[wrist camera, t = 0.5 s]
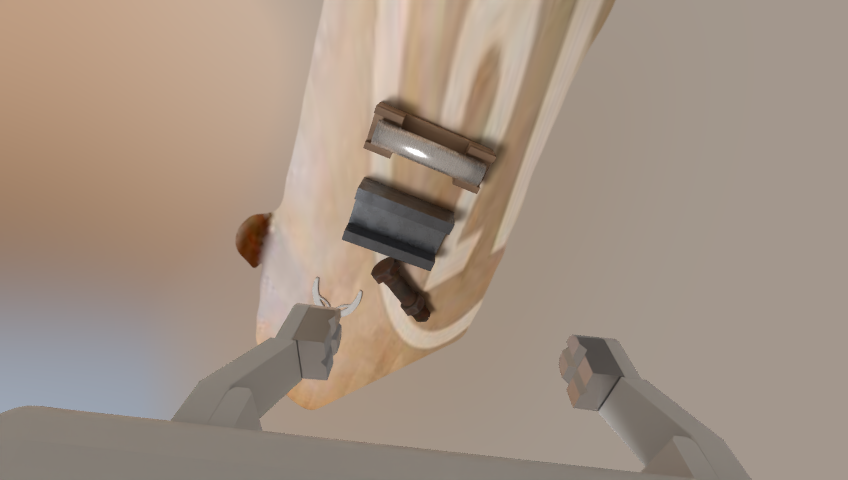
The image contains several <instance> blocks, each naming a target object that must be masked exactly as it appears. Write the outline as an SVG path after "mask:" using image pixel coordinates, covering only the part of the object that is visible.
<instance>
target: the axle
mask: <svg viewBox="0 0 848 480" xmlns="http://www.w3.org/2000/svg"><path fill="white" fill-rule="evenodd" d="M371 144H372V145H375V146H377V147H380V148H382V149H385V150H387V151H390V152H392V153H394V154H397V155H399V156H402V157H404V158H407V159H409V160H411V161H414V162H416V163H419V164H421V165H424V166H426V167H429V168H431V169H433V170H436V171H438V172H441V173H443V174H446V175H448V176H451V177H453V178H455V179H458V180H460V181H463V182H465V183H468V184H470V185H472V186H475V187H477V186H478V185H479V184H480V182H481V180H482V178H483V176H484V174H485V171H486V164H485V163H482V162H480V161H478V160H475V159H473V158H471V157H468V156H466V155H463V154H461V153H459V152H456V151H454V150H452V149H449V148H447V147H445V146H442V145H440V144H437V143H435V142H433V141H430V140H428V139H426V138H423V137H421V136H419V135H416V134H414V133H412V132H409V131H407V130H404V129H402V128H400V127H397V126H395V125H393V124H390V123H388V122H386V121H383V120H381V119H379V121H378V123H377V125H376V128H375V130H374V133H373V137H372V140H371Z"/></svg>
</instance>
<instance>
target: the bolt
mask: <svg viewBox="0 0 848 480" xmlns="http://www.w3.org/2000/svg"><path fill="white" fill-rule="evenodd" d="M399 268H400V265H399V264H398V262H397V261H396V260H395V259H394V258H392V257H388V258H386V259H384V260H382V261H380V262H379V263H378V264H377V265H375V267H374V268H373V270H372V273H371V275H372V276H373V278H374V279H375V280H376V281H377V282H378V284H380V283H382V282H384V283H385V284H386V285H387V286H388V287H389V288H390V290H391V291H392V292H393V293H394V295H395V296H396V297H397V298H398V299H399V300H400V302H401V308H402V309H403V310H404V311H405V313H406V314H407V315H408V316H409V315H412V316H413V317H414V319H415V320H416V321H418V322H426V321H427V320H428V319H429V318H428V317H430V312H429V311H428V309H427V308H426V307H425V306H424V303H425V300H424V299H423V298H422V297H421V295H420V294H419V293H418V292H413V290H412V289H411V288H410V287H409V285H408V284H407V283H406V281H405V280H404V279H403V278H402V276H401V275H400V273H399V272H398V269H399Z"/></svg>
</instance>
